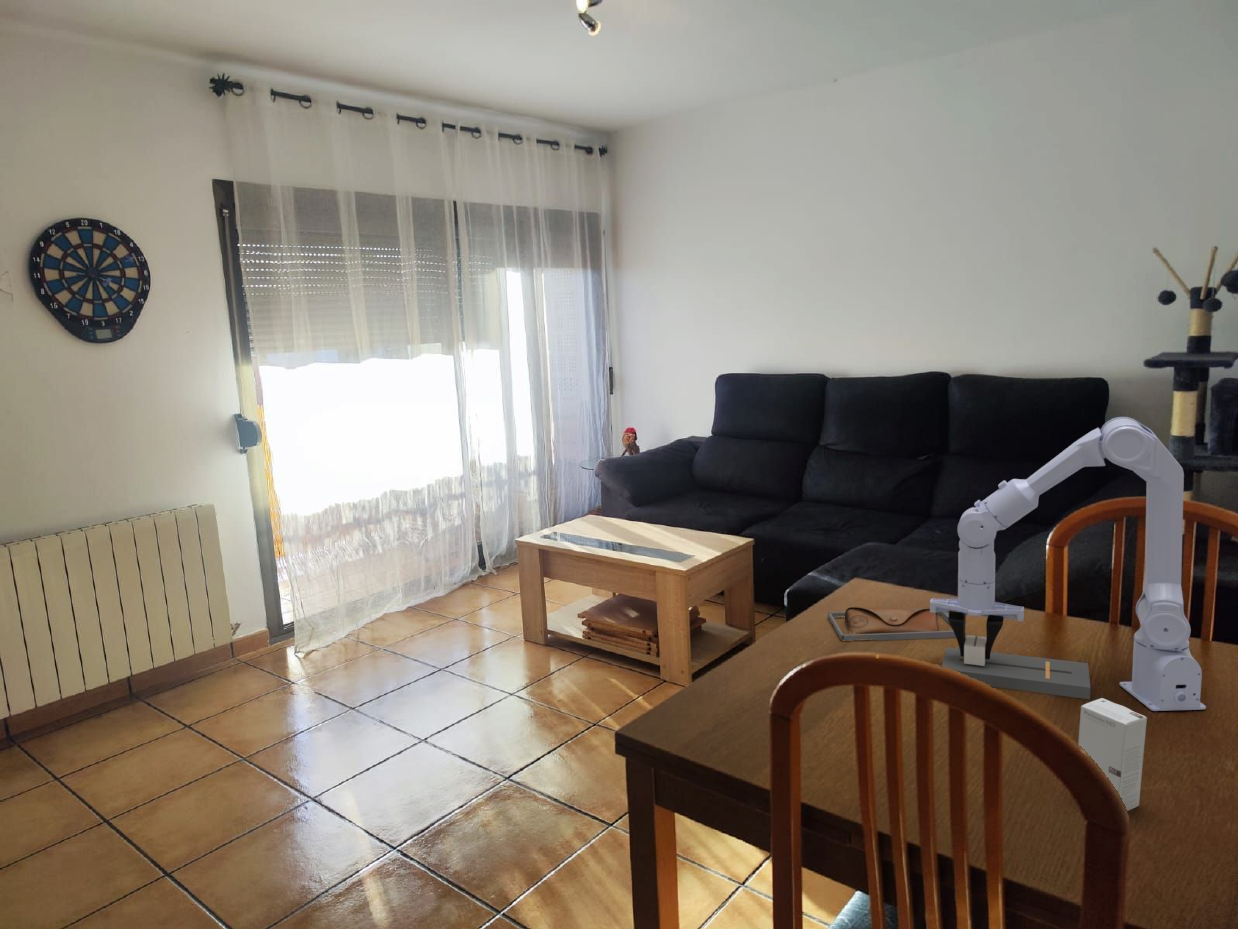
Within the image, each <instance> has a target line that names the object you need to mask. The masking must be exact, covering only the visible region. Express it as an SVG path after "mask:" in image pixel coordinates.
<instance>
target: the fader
mask: <svg viewBox="0 0 1238 929" xmlns="http://www.w3.org/2000/svg"><path fill="white" fill-rule="evenodd" d="M965 637H966V640H965V644H964V664H972V665H980V666H985V661H986V659H985V651H986V641H987V636H978V635H969V634H966V635H965Z"/></svg>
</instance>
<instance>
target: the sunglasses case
mask: <svg viewBox="0 0 1238 929" xmlns="http://www.w3.org/2000/svg"><path fill="white" fill-rule="evenodd" d="M844 612H845V618H844V621H845V620H846V623H847V626H848V628H849V630H850V632H851V633H856V634H858V633H859V634H878V633H905V632H932V631H940V627H939V622H938V615H937V613H931V612H930V608H883V607H882V608H879V607H878V608H868V607H867V608H865V607H860V606H859V607H858V606H850V607H848V608H846V610H845V611H844ZM846 623H845V624H846ZM847 626H846V627H847Z"/></svg>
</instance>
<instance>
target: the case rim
mask: <svg viewBox="0 0 1238 929" xmlns="http://www.w3.org/2000/svg"><path fill="white" fill-rule="evenodd" d="M845 612H846V611H835V612H833V611H832V612H831V611H830V612H827V619H828V618H829V619H830V620H829V619H828V620H829V622H830V621H831V622H830V624H831V623H832V624H833V626H834V628H835V629H834V628H833V629H834V631H835V630H836V631H837V633H838V635H839V636H838V635H837V636H838V638H839V637H840V638H841V640H857V639H858V640H859V639H866V640H867V639H868V640H871V639H872V640H878V641H894V640H895V641H899V640H900V641H902V640H903V641H904V640H928V639H952V638H954V639H957V638H956V636H955V633H954V631H953V630H939V631H932V632H905V633H878V634H851V635H850V634H844V633H843V632H842V630H841V628H840V626H839V624H838V622H837V621H836V619H834V618H833V617H837V616H845ZM938 615H940V616H941V618H942V619H943V620H944V621H945V622H946V623H947V624H948V625H949V626H950V627H951V625H950V624H949V621H948V617H949V613H945V612H937V616H938ZM832 624H831V625H832ZM833 626H832V627H833ZM836 631H835V632H836ZM837 633H836V634H837ZM840 638H839V639H840ZM841 640H840V641H841Z"/></svg>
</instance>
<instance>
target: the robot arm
mask: <svg viewBox="0 0 1238 929" xmlns="http://www.w3.org/2000/svg"><path fill="white" fill-rule="evenodd" d="M1105 459H1107V460H1108V461H1109V462H1111V463H1112V464H1114V465H1117V466H1119V467H1122V468H1125V469H1128V470H1129V471H1133V473H1134V474H1136V475H1137V476H1139V477H1140V478H1141V479H1143V480H1144V481H1145V482H1146V486H1145V487H1146V488H1145V489H1146V491H1145V492H1146V493H1145V494H1146V496H1145V497H1146V498H1145V499H1146V501H1145V502H1146V504H1145V505H1146V506H1145V546H1144V547H1145V549H1144V550H1145V553H1144V554H1145V555H1144V556H1145V557H1144V559H1145V560H1144V580H1143V583H1142V594H1141V596H1140V597H1139V599H1138V600H1137V601H1136V605H1135V614H1136V617H1137V619H1138V620H1139V623H1140V627H1139V629H1138V630H1137V631H1136V632H1135V633H1134V634H1133V652H1132V672H1131V681H1120V682H1119V686H1120V687H1122V688H1123V689H1124V690H1125V691H1127V693H1129V694H1130V695H1131V696H1133V697H1134V698H1135V699H1137V701H1139V702H1140V703H1142V704H1143V705H1144V706H1146V707H1147V709H1148V710H1150V711H1153V712H1158V711H1161V712H1162V711H1192V710H1193V711H1197V710H1206V708H1207V706H1206V705H1205V704H1204V703H1202V702H1201V692H1202V691H1201V689H1202V677H1203V675H1202V674H1203V672H1202V667H1201V666H1200V663H1198V661H1197V660H1196V659H1195V658H1194V657H1193V655H1192V653H1191V651H1190V641H1189V638H1190V636H1191V631H1192V629H1191V625H1190V623H1189V621H1188V618H1187V617H1186V615H1185V611H1184V598H1183V597H1184V595H1183V590H1182V562H1183V561H1182V560H1183V558H1182V557H1183V527H1184V526H1183V523H1184V522H1183V521H1184V520H1183V519H1184V488H1185V487H1184V484H1185V483H1184V482H1185V480H1184V478H1185V473H1184V469H1183V466H1181V464H1180V463H1179V462H1178V460H1177V459H1176V458H1175V457H1174V456H1173V454H1172V453H1171V452H1170V451H1169V450H1168V448H1167V447H1166V446H1165V445H1164V444H1163V442H1162V441H1161V440H1160V439H1159V438H1158V437H1157V435H1156V434H1155V432H1153V430H1152V429H1150V428H1149V427H1147V426H1146V425H1144V424H1142V423H1141V422H1140V421H1138V420H1136V419H1134V418H1131V417H1129V416H1119V417H1118V416H1117V417H1114V418H1111V419H1110V420H1107V421H1106V422H1105V423H1104V424H1103V425H1102V426H1101V428H1099V427H1096V428H1095V429H1092V430H1091V431H1089V432H1088V433H1086V434H1085V435H1083V436H1081V437H1080V438H1078V439H1077V440H1076V441H1074V442H1073V443H1071V445H1069V446H1068V447H1067V448H1065V449H1064V450H1062V452H1060V453H1059V454H1058V455H1056V456H1055V457H1054V458H1052V459H1051V460H1050V461H1048V462H1047V463H1045V465H1043V466H1042V467H1040V468H1039V469H1038V470H1036V471H1035V472H1034V473H1033V474H1031V475H1030V476H1029V477H1027V478H1026V479H1025V478H1024V479H1023V478H1022V479H1019V478H1013V479H1011V480H1009V481H1008V482H1007V481H1006V480H1005V479H1004V480H1002V481H1001V482H1000V483H999V484H998V485H997V486H998V489H997V490H996V491H994V492H993V493H991V494H990V495H988V496H987V497H986V498H985V499H983V500H982V501H981V499H977V501H975V502H974V506H972V507H970V508H968V509H966V510H965V511H964V512H963V513H962V515H961V517H960V519H959V522H958V524H957V529H956V530H957V536H958V537H959V542H958V548H959V551H958V553H957V554H958V555H957V558H958V560H957V561H958V563H957V564H958V565H957V567H958V568H957V570H958V572H957V598H931V599H930V600H929V609H930V612H931V613H937V612H945V613H947V614H948V615H949V617H948V621H949V624H950V625H951V626H950V625H949V624H948V625H949V626H950V627H951V630H952V631H954V633H955V636H956V638H955V639H956V641H957V643H958V648H960V654H961V656H963V657H964V644H965V640H966V623H967V622H966V621H967V620H966V618H967V616H973V617H974V616H975V617H986V618H987V619H986V624H985V625H986V626H985V628H986V637H987V641H986V651H985V659H988V660H989V659H990V653H991V652H992V648H993V646H994V643H995V640H996V639H997V637H998V635H999V633H1000V631H1001V630H1002V627H1003V626H1004V619H1005V620H1006V619H1007V620H1015V621H1016V622H1023V623H1024V619H1025V617H1024V616H1025V613H1024V611H1025V607H1024V606H1021V605H1020V606H1018V605H1014V604H1008V603H1003V602H997V601H996V599H995V598H996V553H995V550H994V549H995V539H996V536H997V532H998V531H1004V530H1006V529H1007V528H1009V527H1011V526H1012V525H1013V524H1015V523H1016V522H1018V521H1019V520H1021V519H1022V518H1023V517H1025V516H1026V515H1028V514H1029V513H1031V512H1032V511H1034V510H1035V509H1037V508H1038V506H1039V498H1040V495H1042V494H1044V493H1045V492H1048V491H1049V490H1050V489H1051V488H1053V487H1054V486H1056V485H1058V484H1060V483H1061V482H1063V481H1064V480H1066V479H1068V477H1071V475H1073V474H1075V473H1076V472H1078V471H1079V470H1081V469H1082V468H1085V467H1086V468H1088V467H1105V466H1106V463H1105ZM966 615H967V616H966Z"/></svg>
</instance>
